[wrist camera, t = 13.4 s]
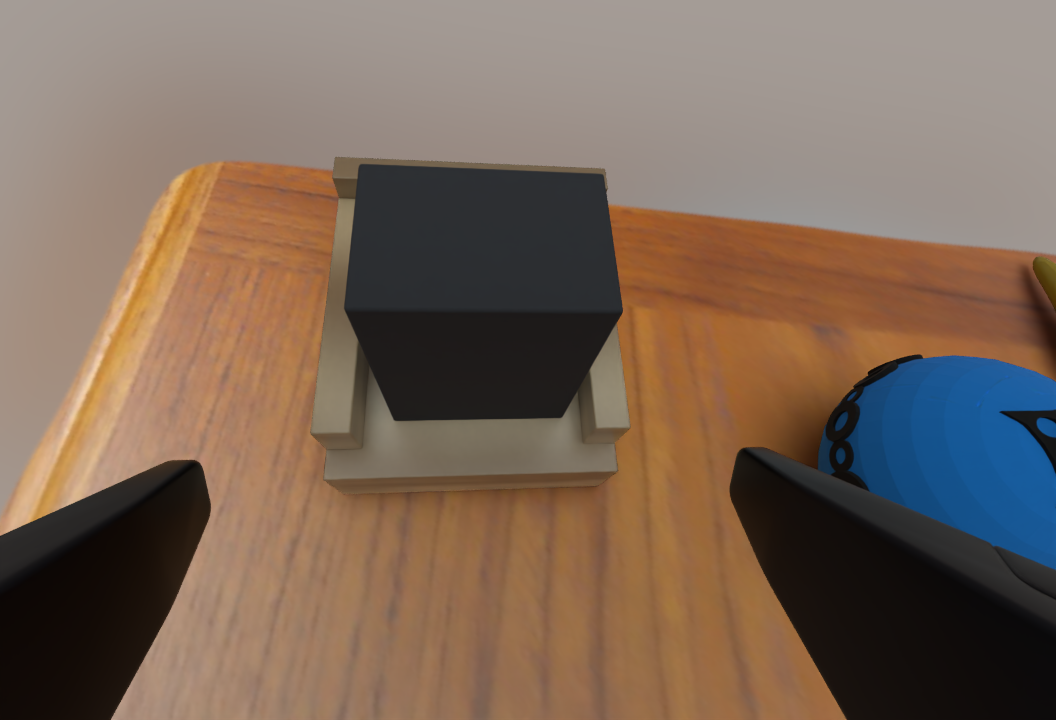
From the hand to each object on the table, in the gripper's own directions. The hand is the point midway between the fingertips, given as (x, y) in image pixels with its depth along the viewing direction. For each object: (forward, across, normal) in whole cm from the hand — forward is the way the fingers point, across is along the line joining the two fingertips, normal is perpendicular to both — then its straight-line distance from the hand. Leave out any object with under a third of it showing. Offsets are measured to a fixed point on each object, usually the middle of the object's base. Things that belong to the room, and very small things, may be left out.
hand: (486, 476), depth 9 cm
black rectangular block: (+10, 0, +2) cm, 11 cm away
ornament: (+9, -17, +8) cm, 21 cm away
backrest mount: (+14, 0, +3) cm, 14 cm away
